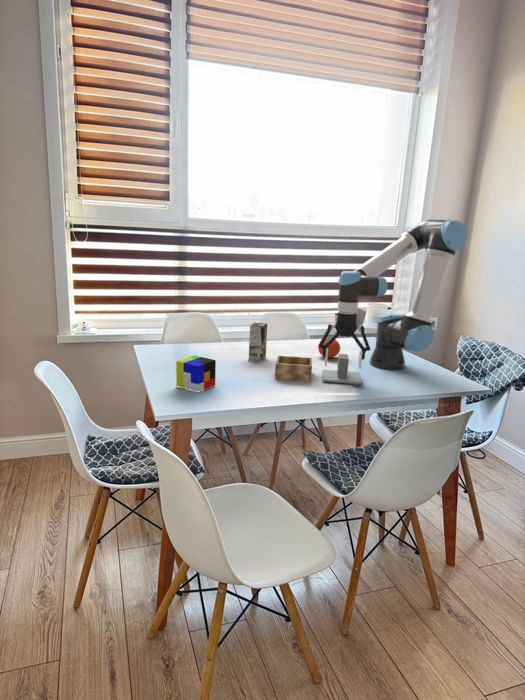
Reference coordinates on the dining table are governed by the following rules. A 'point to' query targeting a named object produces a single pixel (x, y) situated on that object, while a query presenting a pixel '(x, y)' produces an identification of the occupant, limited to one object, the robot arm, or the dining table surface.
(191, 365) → the puzzle toy
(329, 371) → the lid
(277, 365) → the crate
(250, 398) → the dining table surface
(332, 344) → the orange fruit
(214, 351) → the dining table surface
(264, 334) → the coffee box
